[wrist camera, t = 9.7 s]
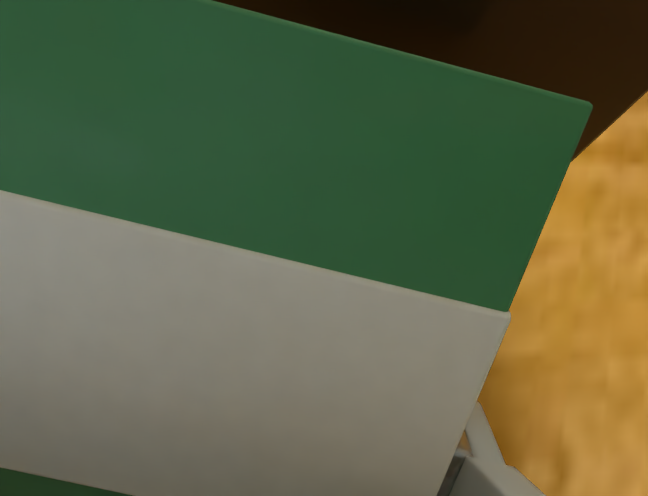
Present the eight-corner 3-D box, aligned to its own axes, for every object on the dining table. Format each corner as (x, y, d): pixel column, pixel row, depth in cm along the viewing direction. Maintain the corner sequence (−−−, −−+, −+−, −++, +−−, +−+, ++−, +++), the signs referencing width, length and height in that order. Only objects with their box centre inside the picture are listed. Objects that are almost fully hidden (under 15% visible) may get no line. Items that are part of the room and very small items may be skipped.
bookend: (431, 292, 19) (787, -35, 7) (121, 218, 19) (-138, -300, 6) (439, 224, 21) (751, -161, 8) (148, 152, 20) (-20, -393, 7)
